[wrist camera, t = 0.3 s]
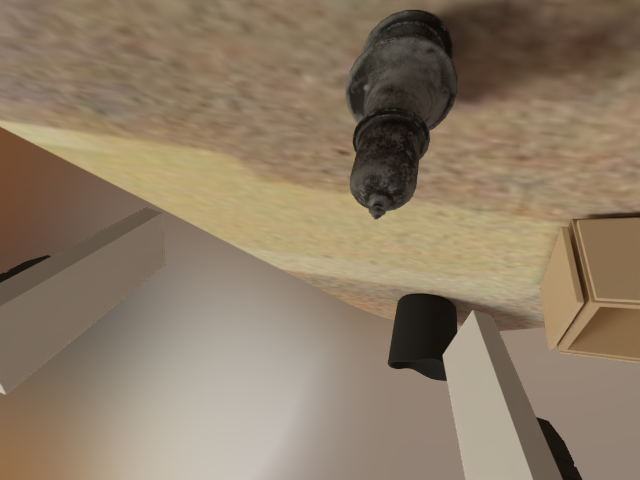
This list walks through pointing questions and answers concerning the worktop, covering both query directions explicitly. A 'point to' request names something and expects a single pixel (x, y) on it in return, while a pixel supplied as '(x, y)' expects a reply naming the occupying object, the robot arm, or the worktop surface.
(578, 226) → the carton
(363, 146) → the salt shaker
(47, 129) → the worktop surface
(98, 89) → the worktop surface
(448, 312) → the pen holder
